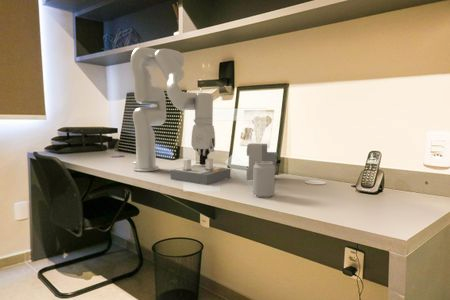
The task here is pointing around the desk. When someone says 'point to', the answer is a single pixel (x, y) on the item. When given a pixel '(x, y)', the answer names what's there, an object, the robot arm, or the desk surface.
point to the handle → (187, 164)
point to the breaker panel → (200, 174)
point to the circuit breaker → (259, 157)
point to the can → (264, 179)
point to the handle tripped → (209, 164)
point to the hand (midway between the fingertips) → (203, 164)
